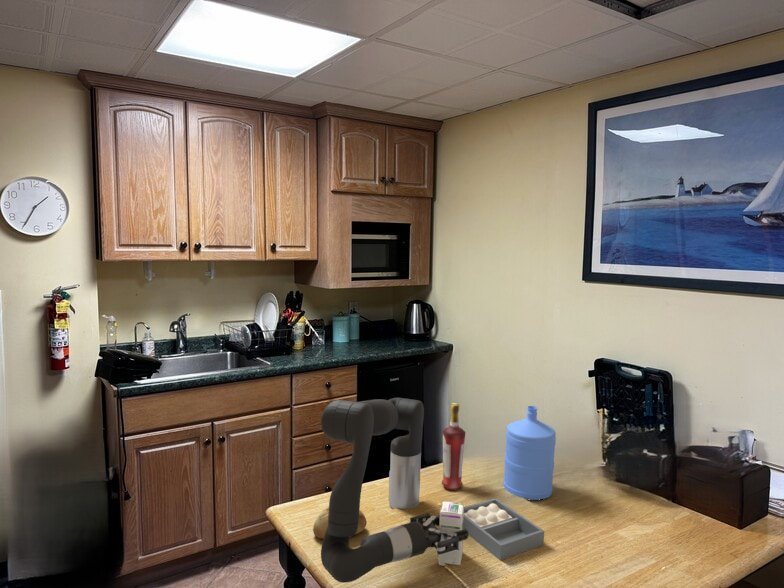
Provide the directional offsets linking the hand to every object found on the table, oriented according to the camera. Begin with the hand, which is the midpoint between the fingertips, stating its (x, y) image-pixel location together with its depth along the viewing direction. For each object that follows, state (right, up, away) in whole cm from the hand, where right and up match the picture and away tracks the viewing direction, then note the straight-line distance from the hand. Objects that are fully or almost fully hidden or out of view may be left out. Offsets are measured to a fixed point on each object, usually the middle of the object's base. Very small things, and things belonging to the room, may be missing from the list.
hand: (457, 525), depth 142 cm
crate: (+12, -8, +12) cm, 19 cm away
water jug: (+28, -5, +39) cm, 48 cm away
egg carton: (+10, -6, +15) cm, 19 cm away
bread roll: (-31, -7, +11) cm, 34 cm away
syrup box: (-2, -9, 0) cm, 9 cm away
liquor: (+3, -4, +40) cm, 41 cm away
